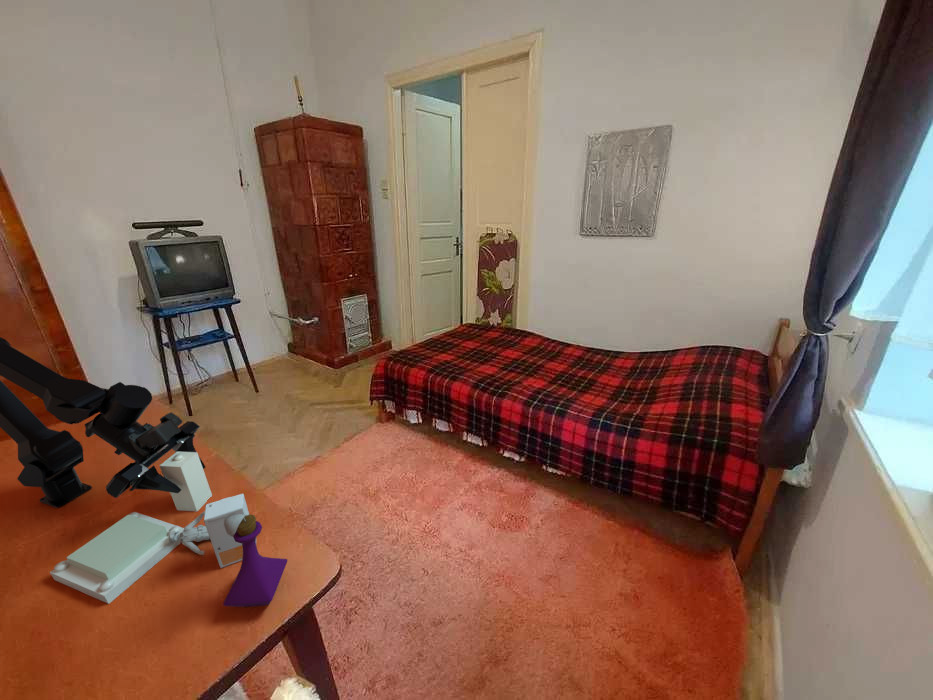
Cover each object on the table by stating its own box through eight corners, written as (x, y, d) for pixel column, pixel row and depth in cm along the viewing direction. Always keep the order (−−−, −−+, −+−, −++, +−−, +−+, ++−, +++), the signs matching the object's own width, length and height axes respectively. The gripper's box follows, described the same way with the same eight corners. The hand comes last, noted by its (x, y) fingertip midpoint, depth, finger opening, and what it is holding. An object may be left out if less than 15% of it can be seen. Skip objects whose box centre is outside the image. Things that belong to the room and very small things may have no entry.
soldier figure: (242, 548, 73) (164, 561, 67) (239, 548, 77) (165, 561, 70) (245, 505, 76) (171, 513, 70) (242, 508, 80) (171, 516, 73)
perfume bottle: (248, 575, 67) (222, 498, 60) (291, 571, 68) (270, 495, 61) (227, 618, 60) (195, 537, 53) (275, 614, 61) (250, 533, 54)
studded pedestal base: (54, 579, 66) (44, 564, 65) (138, 519, 79) (132, 504, 77) (108, 603, 63) (99, 587, 61) (188, 536, 75) (182, 521, 73)
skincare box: (220, 569, 68) (202, 520, 64) (221, 551, 72) (204, 503, 67) (257, 555, 71) (242, 507, 66) (257, 538, 74) (243, 492, 70)
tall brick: (177, 510, 81) (158, 463, 76) (193, 494, 85) (176, 448, 80) (197, 511, 81) (179, 464, 76) (212, 495, 85) (196, 449, 80)
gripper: (96, 440, 66) (174, 492, 69) (179, 388, 83) (239, 432, 86) (73, 473, 69) (149, 521, 73) (157, 417, 86) (215, 458, 90)
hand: (192, 479), depth 80 cm, fingers open, 7 cm apart
